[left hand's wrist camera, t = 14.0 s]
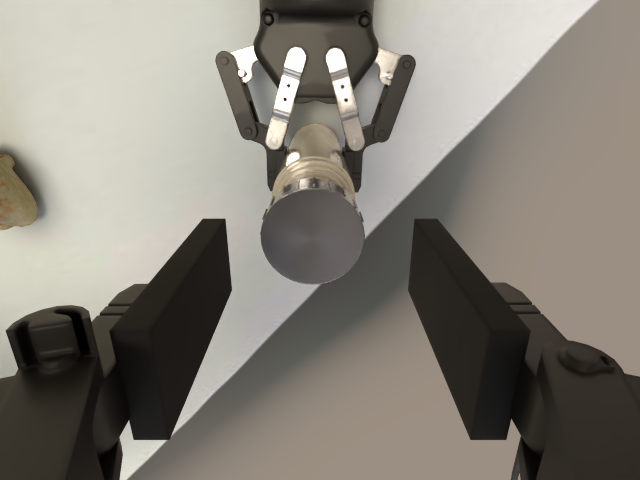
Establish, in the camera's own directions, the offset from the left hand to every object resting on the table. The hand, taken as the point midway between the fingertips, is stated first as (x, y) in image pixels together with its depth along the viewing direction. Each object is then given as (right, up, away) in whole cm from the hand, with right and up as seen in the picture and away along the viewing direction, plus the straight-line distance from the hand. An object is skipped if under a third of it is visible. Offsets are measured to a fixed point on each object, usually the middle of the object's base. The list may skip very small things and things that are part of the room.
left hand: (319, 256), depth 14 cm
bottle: (0, +9, +23) cm, 24 cm away
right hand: (0, +4, +18) cm, 18 cm away
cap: (0, +1, +2) cm, 2 cm away
